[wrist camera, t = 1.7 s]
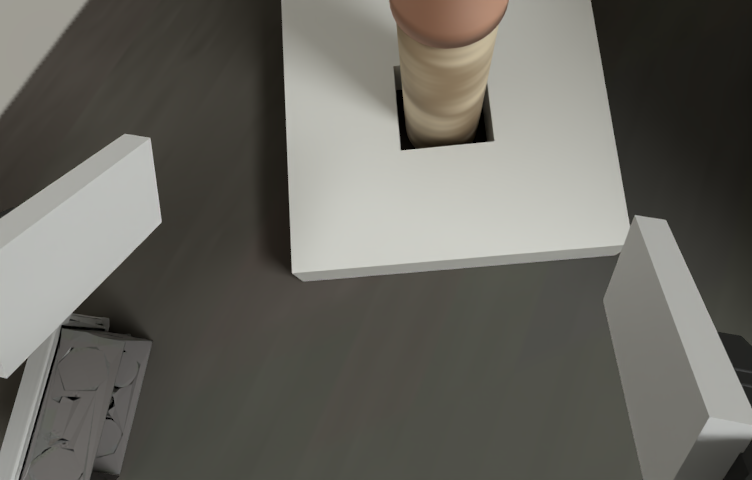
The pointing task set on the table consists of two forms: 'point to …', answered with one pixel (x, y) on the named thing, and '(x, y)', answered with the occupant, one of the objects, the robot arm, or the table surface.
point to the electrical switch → (75, 404)
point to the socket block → (447, 148)
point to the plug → (445, 66)
